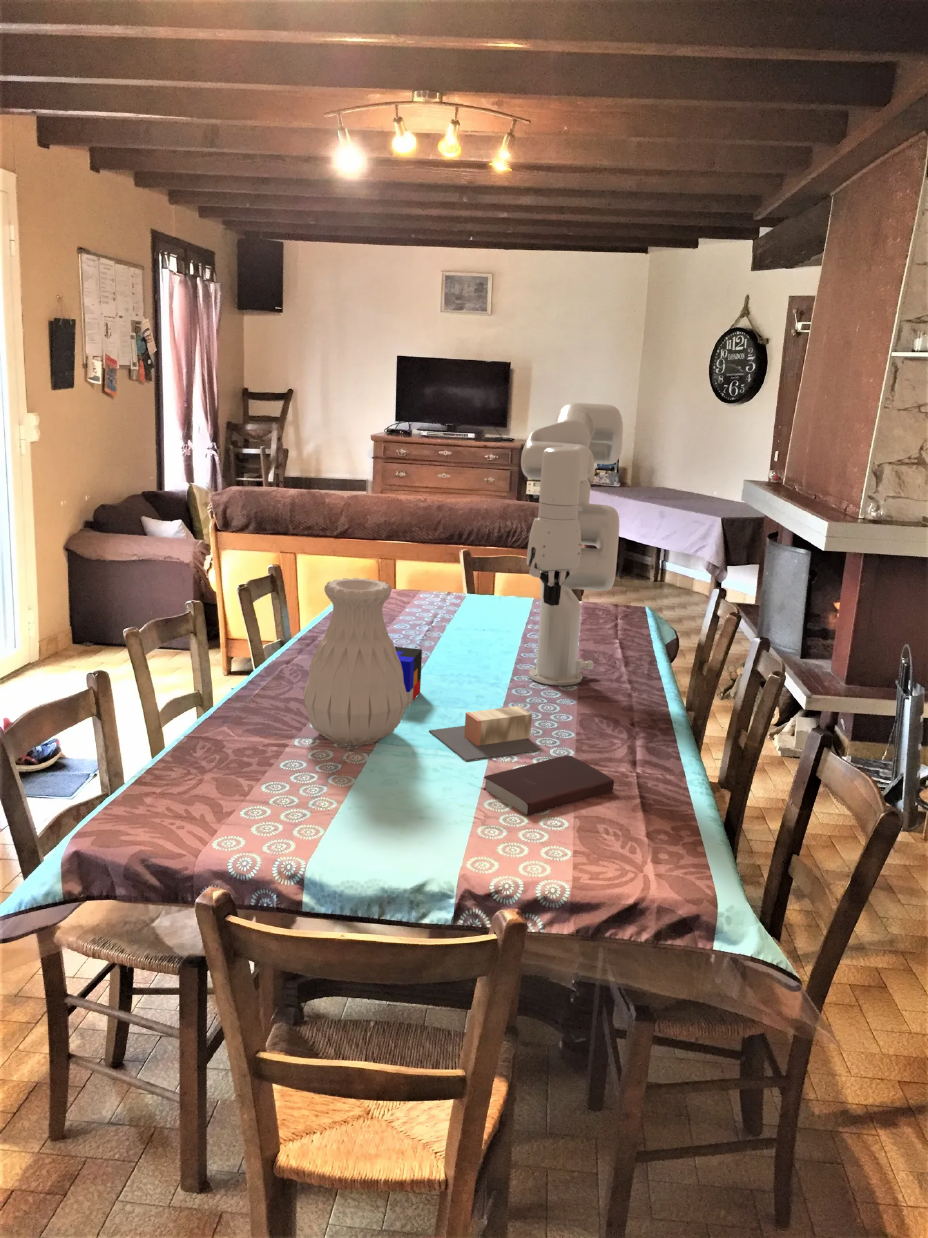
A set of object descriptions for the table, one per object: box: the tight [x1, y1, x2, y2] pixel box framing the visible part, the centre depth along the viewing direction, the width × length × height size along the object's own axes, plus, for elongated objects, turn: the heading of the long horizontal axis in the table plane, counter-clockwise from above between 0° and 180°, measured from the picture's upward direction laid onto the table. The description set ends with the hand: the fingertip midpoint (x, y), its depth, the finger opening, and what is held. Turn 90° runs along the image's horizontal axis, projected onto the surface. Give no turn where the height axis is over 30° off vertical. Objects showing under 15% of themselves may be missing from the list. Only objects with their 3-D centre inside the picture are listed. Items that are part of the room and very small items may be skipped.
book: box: [482, 754, 615, 817], centre depth 167 cm, size 12×19×3 cm, turn 125°
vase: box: [302, 577, 408, 747], centre depth 184 cm, size 20×20×30 cm
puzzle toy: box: [395, 646, 423, 707], centre depth 210 cm, size 10×10×10 cm
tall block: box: [464, 705, 533, 746], centre depth 189 cm, size 5×5×12 cm
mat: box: [428, 725, 541, 762], centre depth 189 cm, size 16×16×1 cm
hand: (551, 603), depth 192 cm, fingers closed
